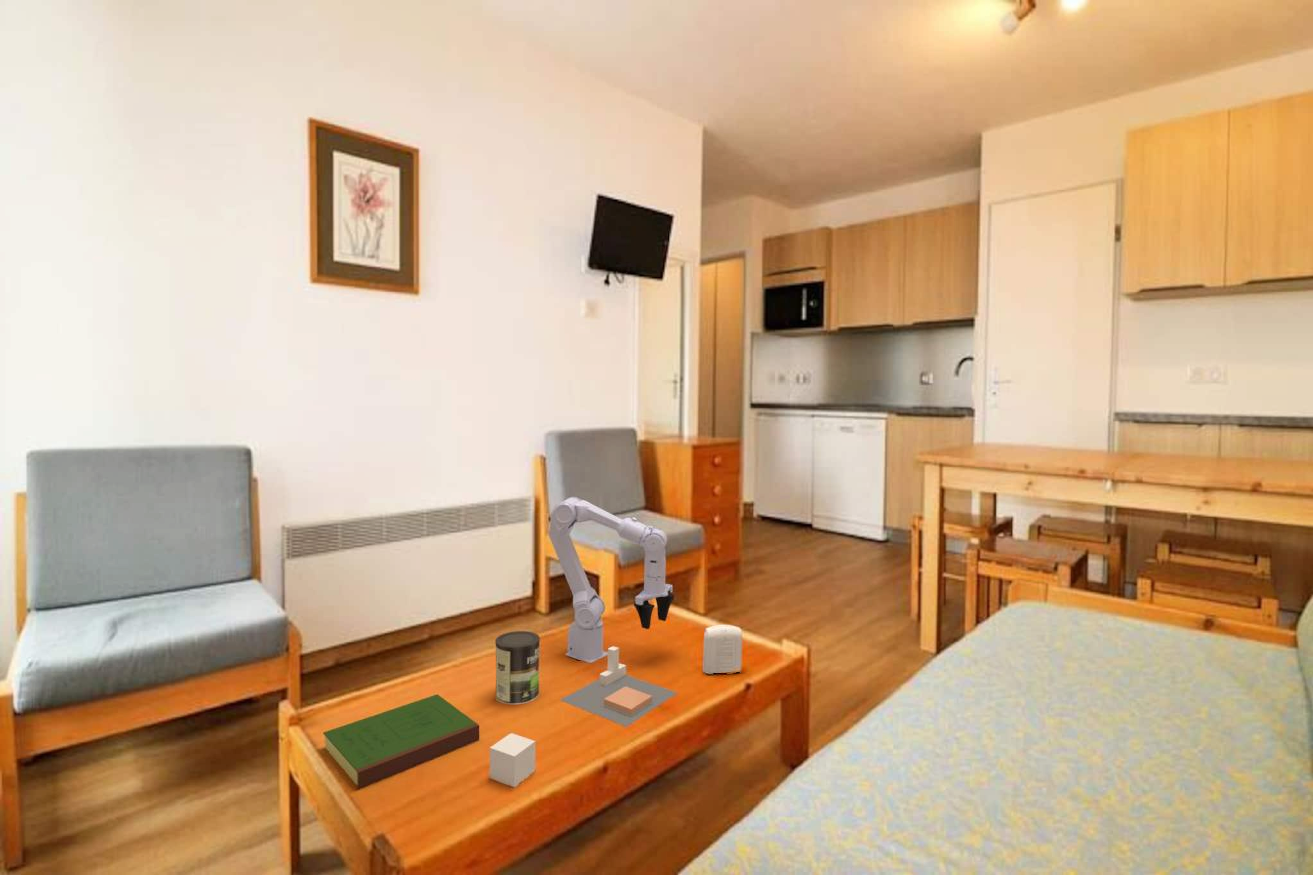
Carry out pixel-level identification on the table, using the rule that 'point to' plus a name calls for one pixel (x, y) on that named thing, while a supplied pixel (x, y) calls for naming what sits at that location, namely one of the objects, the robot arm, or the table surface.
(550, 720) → the table surface
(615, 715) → the mat
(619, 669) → the beige t-shaped block
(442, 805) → the table surface
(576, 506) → the robot arm
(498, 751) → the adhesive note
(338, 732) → the hardcover book
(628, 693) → the tile
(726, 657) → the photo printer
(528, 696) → the coffee can
